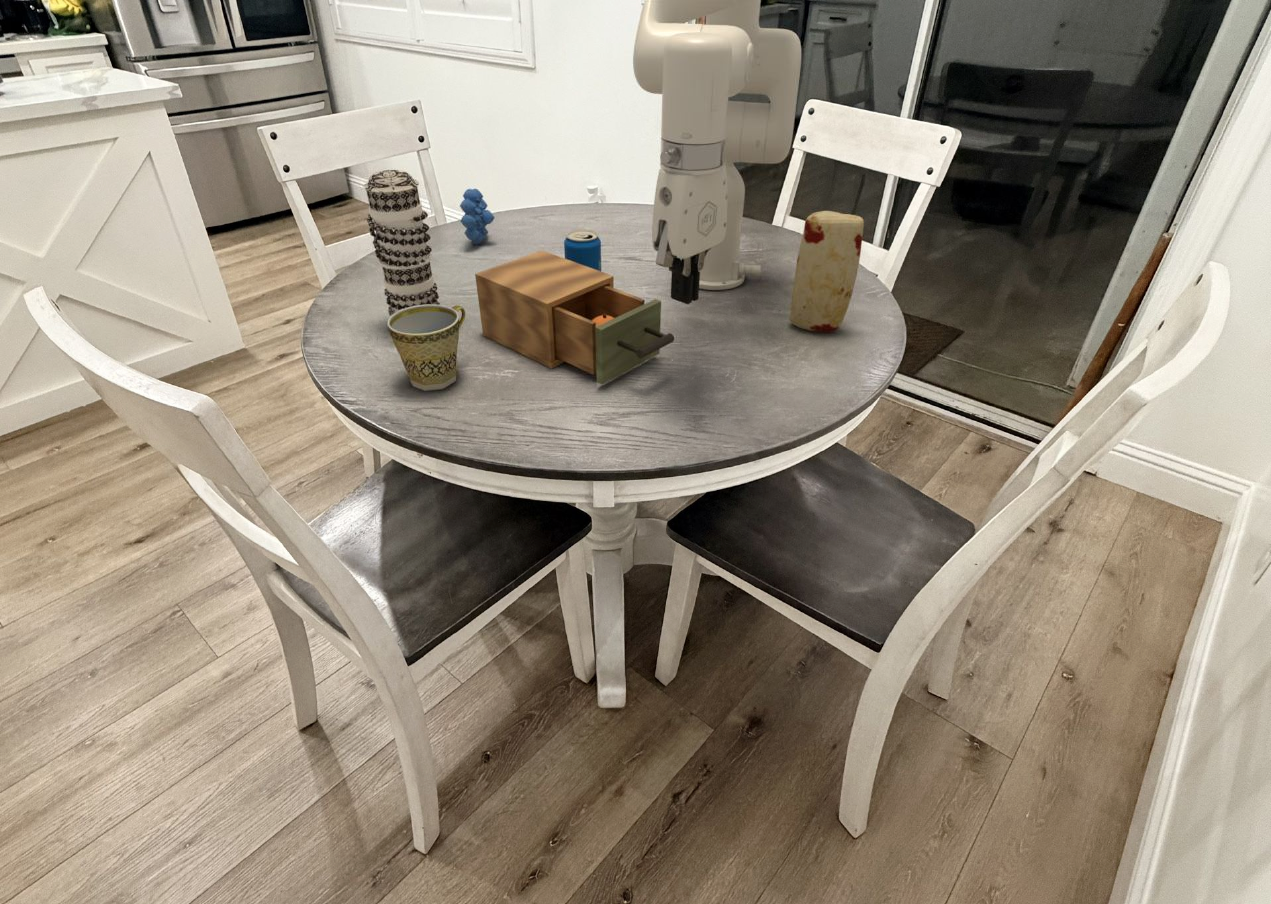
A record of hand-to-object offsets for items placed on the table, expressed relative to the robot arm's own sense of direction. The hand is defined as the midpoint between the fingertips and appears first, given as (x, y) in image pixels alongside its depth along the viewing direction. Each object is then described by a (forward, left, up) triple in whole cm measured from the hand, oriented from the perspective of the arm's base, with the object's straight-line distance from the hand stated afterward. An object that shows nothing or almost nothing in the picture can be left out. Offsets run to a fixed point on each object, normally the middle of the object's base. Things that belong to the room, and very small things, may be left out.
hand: (684, 299), depth 94 cm
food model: (-20, -27, -15) cm, 37 cm away
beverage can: (+22, -30, -15) cm, 40 cm away
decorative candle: (+47, -13, -15) cm, 51 cm away
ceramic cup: (+36, +2, -15) cm, 39 cm away
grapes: (+51, -53, -15) cm, 75 cm away
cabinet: (+24, -14, -15) cm, 32 cm away
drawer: (+12, -7, -14) cm, 20 cm away
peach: (+13, -8, -10) cm, 18 cm away
